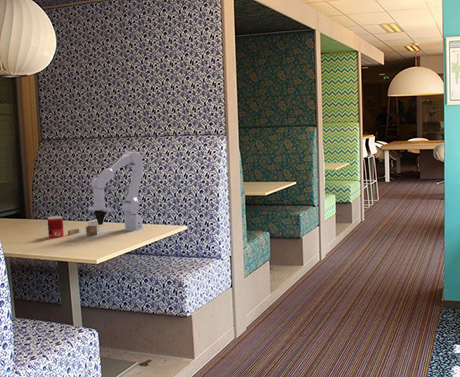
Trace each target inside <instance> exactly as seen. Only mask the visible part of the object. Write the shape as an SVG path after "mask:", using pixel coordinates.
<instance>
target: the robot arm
mask: <svg viewBox="0 0 460 377" xmlns="http://www.w3.org/2000/svg"><path fill="white" fill-rule="evenodd" d="M143 158H144V157H143V156H142V154H141V153H140V152H139V151H129V150H128V151H126V152H125V153H123V154H122V155H121V156H120V158H118V160H117V161H115V163H113V165H112V166H111V167H108V168H104V169H103V170H102V172H101V173H100V174H98V175H97V177H94V178H92V180H91V182H90V186H91V188H92V189H93V190H92V192H93V193H92V194H93V206H89V207H88V208H87V209H88V211H87V212H93V216H94V217H95V220H96V219H97V221H98V225H99V226H102V225H103V224H104V219H105V216H106V215H107V213H111V212H112V207H107V206H106V203H105V188H106V184H107V183H108V182H109V181H110V180H111V179H113V177H114V176H115V174H116V172H117V171H118V170H120V169H121V168H122V167H123V166H124V165H128V164H129V165H130V166H131V168H132V169H133V170H132V173H131V180H130V184H129V186H128V192H127V196H126V197H125V198H124V201H123V202H122V205H121V211H122V212H123V214H124V217H123V218H124V228H122V229H121V231H130V232H132V231H133V232H135V231H139V230H144V227H143V217H142V215H141V214H138V212H139V210H140V207H139V203H140V201H139V199H138V195H139V190H140V186H141V181H142V179H143V178H142V177H143V172H144V162H143Z"/></svg>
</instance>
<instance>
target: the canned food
mask: <svg viewBox="0 0 460 377" xmlns="http://www.w3.org/2000/svg"><path fill="white" fill-rule="evenodd" d="M47 227H48V228H47V229H48V232H47V233H48V238H49V239H58V238H63V237H64V236H65V235H64V218H63V216H61V215H56V216H48V217H47Z"/></svg>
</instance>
